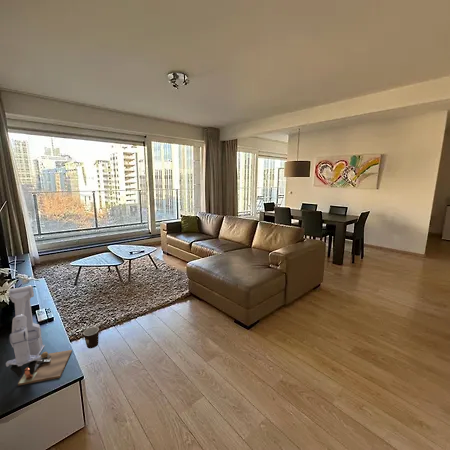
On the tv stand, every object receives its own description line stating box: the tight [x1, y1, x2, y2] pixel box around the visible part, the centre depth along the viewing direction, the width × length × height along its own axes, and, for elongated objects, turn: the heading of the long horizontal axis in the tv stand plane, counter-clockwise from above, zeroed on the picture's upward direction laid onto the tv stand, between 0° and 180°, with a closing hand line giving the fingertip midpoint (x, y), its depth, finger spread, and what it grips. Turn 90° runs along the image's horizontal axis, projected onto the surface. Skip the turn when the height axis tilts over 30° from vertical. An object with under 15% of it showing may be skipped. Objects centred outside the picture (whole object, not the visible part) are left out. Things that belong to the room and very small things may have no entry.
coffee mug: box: [81, 326, 100, 349], centre depth 155 cm, size 12×9×10 cm
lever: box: [23, 358, 51, 380], centre depth 134 cm, size 14×7×5 cm, turn 8°
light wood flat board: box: [17, 349, 73, 386], centre depth 137 cm, size 20×19×5 cm
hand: (26, 374), depth 128 cm, fingers open, 5 cm apart
